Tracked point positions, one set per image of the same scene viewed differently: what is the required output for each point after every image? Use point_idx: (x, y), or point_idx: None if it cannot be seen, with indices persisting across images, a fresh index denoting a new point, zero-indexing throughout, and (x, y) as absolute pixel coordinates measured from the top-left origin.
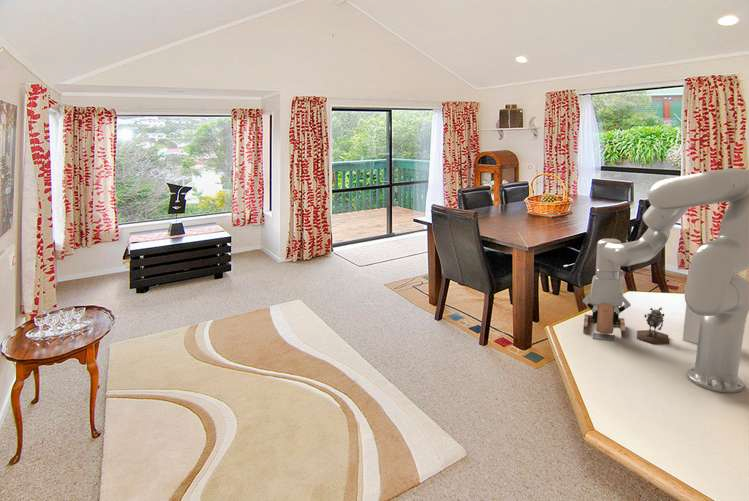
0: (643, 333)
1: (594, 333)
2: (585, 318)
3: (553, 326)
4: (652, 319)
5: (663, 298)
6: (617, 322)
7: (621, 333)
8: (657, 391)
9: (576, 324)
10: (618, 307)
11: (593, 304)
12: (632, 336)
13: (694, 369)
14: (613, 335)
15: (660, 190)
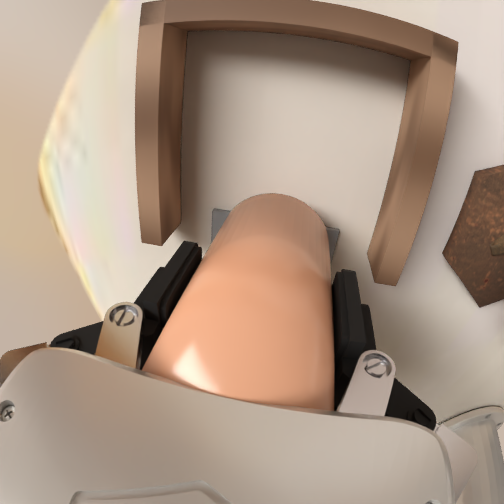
0: (495, 216)
1: (220, 224)
2: (142, 88)
3: (39, 163)
4: None
5: None
6: (400, 52)
7: (372, 266)
8: None
9: (121, 89)
10: (379, 407)
11: (98, 345)
12: (435, 222)
13: (451, 429)
14: (330, 236)
15: None
